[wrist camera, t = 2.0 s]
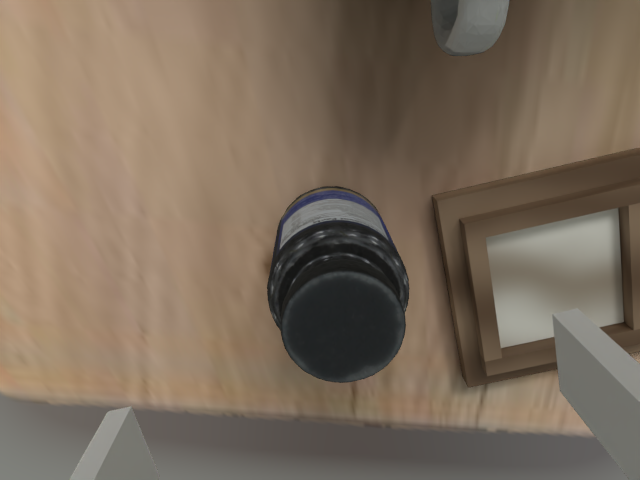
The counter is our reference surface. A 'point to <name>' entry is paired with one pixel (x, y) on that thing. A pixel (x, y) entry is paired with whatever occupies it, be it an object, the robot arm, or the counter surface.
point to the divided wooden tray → (541, 262)
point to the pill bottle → (337, 286)
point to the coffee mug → (468, 24)
